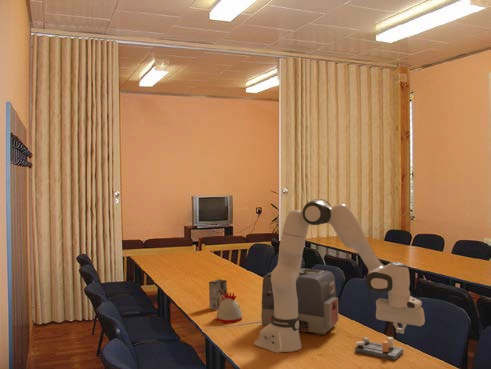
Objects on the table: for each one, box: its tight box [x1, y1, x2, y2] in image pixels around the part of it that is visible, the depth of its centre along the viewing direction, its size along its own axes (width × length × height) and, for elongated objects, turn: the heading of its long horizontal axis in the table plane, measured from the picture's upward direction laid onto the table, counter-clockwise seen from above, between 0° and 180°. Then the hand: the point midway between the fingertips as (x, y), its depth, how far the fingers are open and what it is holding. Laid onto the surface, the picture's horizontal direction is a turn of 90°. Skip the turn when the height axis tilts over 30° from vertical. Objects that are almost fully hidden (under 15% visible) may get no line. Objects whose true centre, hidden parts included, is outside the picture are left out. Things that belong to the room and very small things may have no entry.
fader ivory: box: [386, 336, 394, 348], centre depth 222 cm, size 2×2×4 cm
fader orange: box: [381, 340, 389, 352], centre depth 217 cm, size 2×2×4 cm
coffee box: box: [208, 279, 228, 311], centre depth 297 cm, size 9×6×16 cm
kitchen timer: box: [216, 291, 243, 324], centre depth 274 cm, size 14×14×15 cm
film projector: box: [261, 267, 340, 337], centre depth 258 cm, size 39×29×30 cm
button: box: [362, 336, 370, 343], centre depth 229 cm, size 3×3×2 cm
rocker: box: [354, 340, 365, 346], centre depth 224 cm, size 4×2×1 cm, turn 54°
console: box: [354, 341, 404, 361], centre depth 222 cm, size 18×11×3 cm, turn 54°
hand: (400, 332), depth 213 cm, fingers closed
